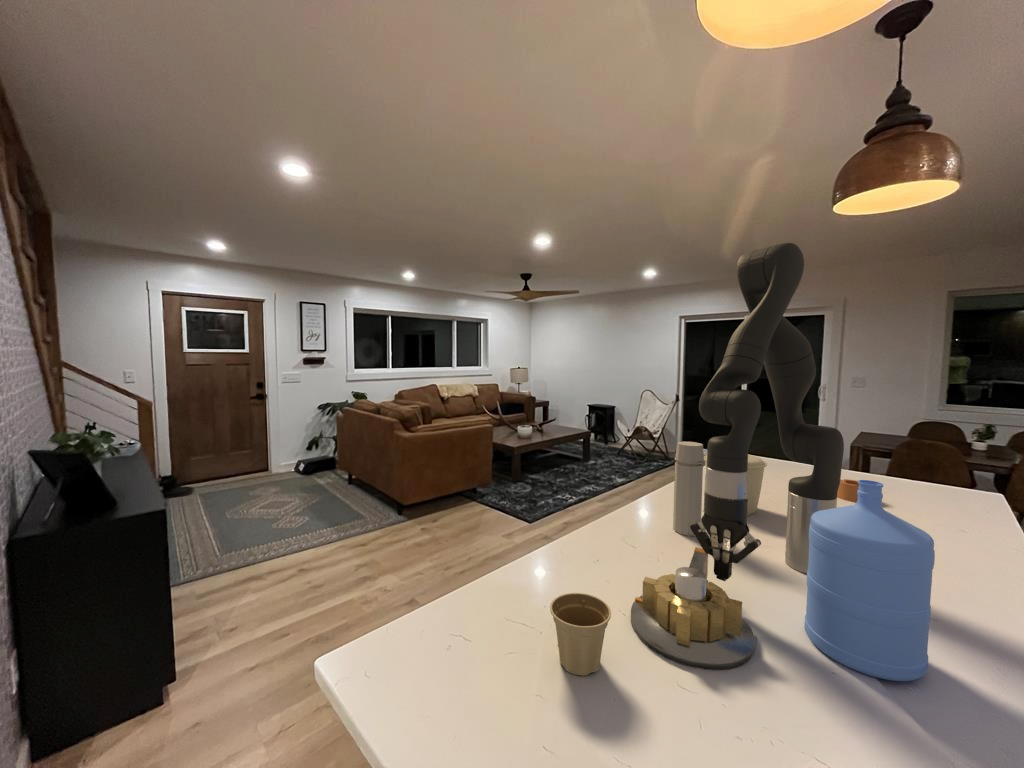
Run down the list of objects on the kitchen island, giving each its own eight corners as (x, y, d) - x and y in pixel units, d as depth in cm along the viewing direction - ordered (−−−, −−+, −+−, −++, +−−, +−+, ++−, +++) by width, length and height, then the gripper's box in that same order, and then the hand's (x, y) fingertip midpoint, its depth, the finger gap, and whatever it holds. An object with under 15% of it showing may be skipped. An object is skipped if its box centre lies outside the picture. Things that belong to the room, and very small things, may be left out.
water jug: (893, 698, 60) (904, 503, 58) (783, 632, 74) (790, 475, 73) (948, 667, 66) (960, 490, 64) (837, 612, 80) (845, 467, 79)
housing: (731, 603, 83) (733, 553, 82) (775, 678, 63) (778, 613, 63) (626, 592, 86) (627, 545, 86) (637, 660, 67) (638, 598, 66)
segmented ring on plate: (710, 576, 90) (711, 548, 89) (755, 654, 66) (756, 616, 65) (633, 569, 92) (634, 542, 92) (649, 641, 68) (650, 605, 68)
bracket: (873, 506, 142) (874, 486, 141) (848, 506, 142) (849, 485, 142) (834, 490, 160) (835, 472, 159) (811, 489, 160) (812, 471, 160)
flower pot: (544, 643, 71) (545, 593, 70) (599, 640, 71) (600, 591, 71) (555, 686, 61) (556, 628, 61) (618, 682, 62) (619, 625, 62)
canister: (765, 508, 138) (768, 444, 137) (764, 525, 123) (766, 454, 122) (705, 498, 148) (707, 438, 147) (697, 513, 133) (699, 447, 132)
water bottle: (694, 540, 112) (697, 447, 111) (666, 531, 118) (669, 443, 117) (709, 531, 118) (712, 443, 117) (682, 523, 124) (685, 439, 123)
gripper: (683, 487, 84) (680, 572, 85) (756, 504, 74) (752, 600, 75) (700, 480, 89) (697, 560, 90) (770, 495, 79) (766, 585, 80)
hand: (722, 578), depth 83 cm, fingers closed
